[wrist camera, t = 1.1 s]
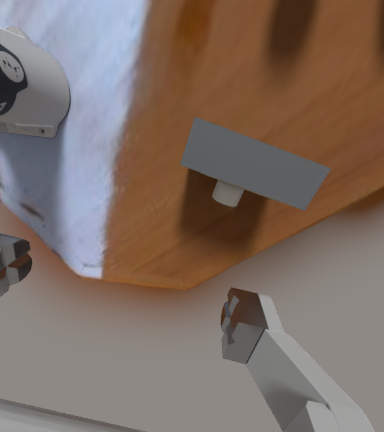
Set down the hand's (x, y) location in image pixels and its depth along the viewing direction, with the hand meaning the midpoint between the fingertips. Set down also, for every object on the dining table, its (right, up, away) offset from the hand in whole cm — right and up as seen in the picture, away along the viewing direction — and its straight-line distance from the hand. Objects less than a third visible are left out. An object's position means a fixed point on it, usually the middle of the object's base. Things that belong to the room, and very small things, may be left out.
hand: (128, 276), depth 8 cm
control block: (+12, +16, +34) cm, 39 cm away
